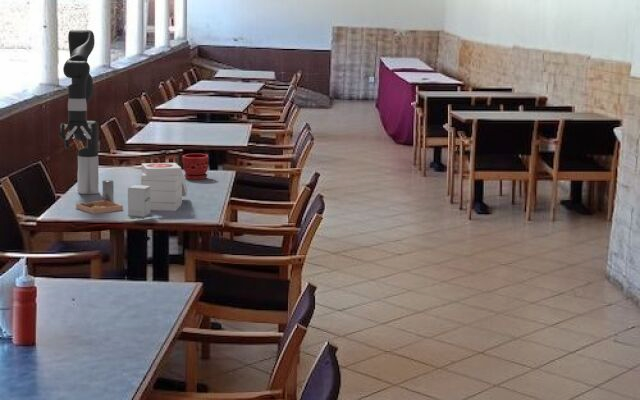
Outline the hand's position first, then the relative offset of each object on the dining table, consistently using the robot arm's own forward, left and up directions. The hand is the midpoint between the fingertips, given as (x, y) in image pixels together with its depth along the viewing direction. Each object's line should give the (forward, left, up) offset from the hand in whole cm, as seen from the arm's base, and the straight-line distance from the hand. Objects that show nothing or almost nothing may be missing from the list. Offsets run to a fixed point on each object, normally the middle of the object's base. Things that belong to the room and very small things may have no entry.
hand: (77, 148), depth 421 cm
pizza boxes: (+9, +37, -27) cm, 46 cm away
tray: (+7, +6, -26) cm, 28 cm away
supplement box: (+25, +14, -27) cm, 39 cm away
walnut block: (+4, +2, -25) cm, 26 cm away
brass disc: (+11, +2, -25) cm, 28 cm away
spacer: (-1, +15, -26) cm, 30 cm away
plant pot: (-38, +88, -27) cm, 99 cm away
